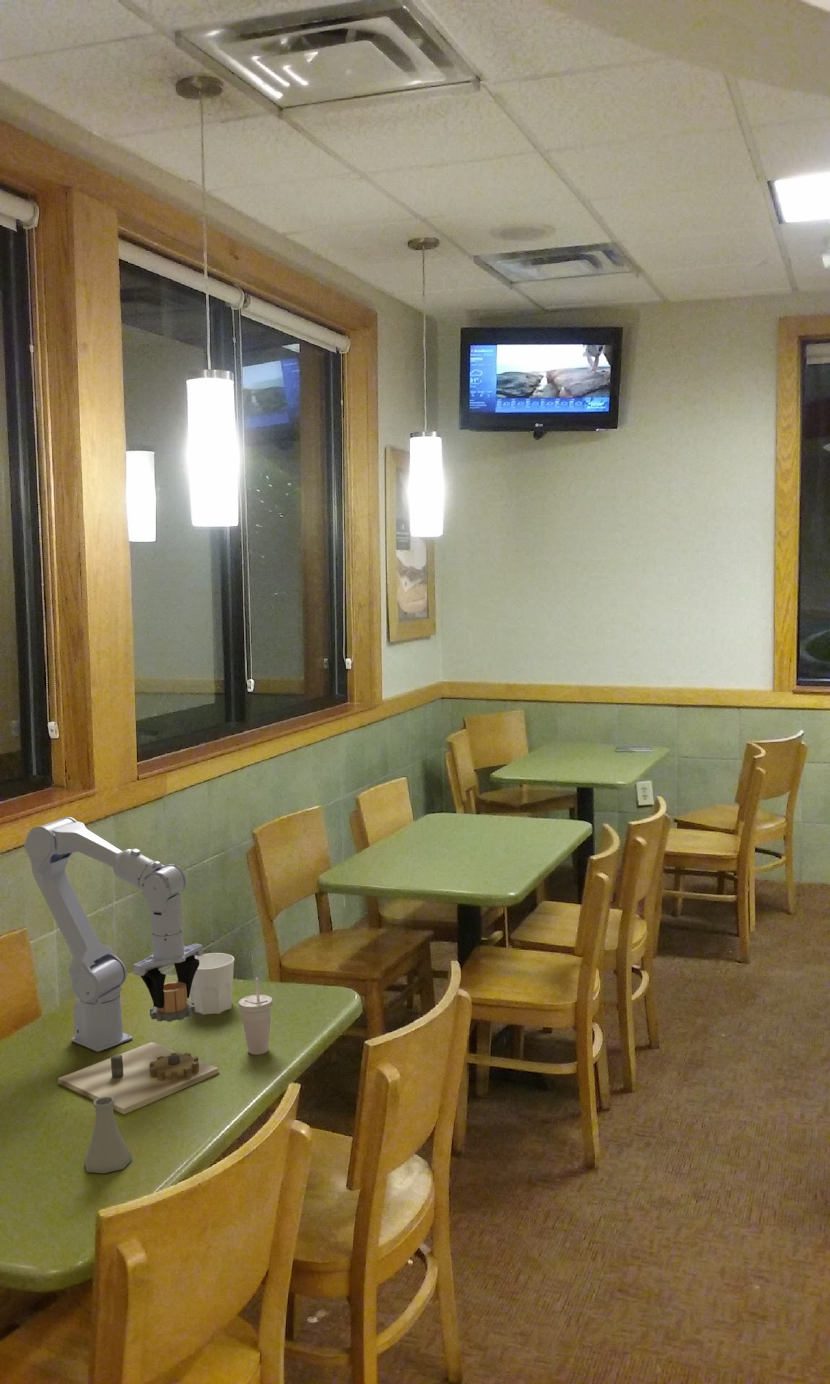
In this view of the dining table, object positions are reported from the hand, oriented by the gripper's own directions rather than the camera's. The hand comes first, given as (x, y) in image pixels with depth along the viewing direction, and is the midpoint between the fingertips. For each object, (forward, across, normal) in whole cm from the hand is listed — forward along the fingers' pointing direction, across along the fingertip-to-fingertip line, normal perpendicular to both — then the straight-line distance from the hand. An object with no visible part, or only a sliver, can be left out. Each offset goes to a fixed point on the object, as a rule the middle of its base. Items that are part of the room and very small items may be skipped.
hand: (171, 1002), depth 222 cm
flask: (+10, -33, -27) cm, 44 cm away
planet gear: (+2, 0, 0) cm, 2 cm away
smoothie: (+10, +9, -13) cm, 19 cm away
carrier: (+9, -12, -5) cm, 16 cm away
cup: (+10, +18, +12) cm, 24 cm away
